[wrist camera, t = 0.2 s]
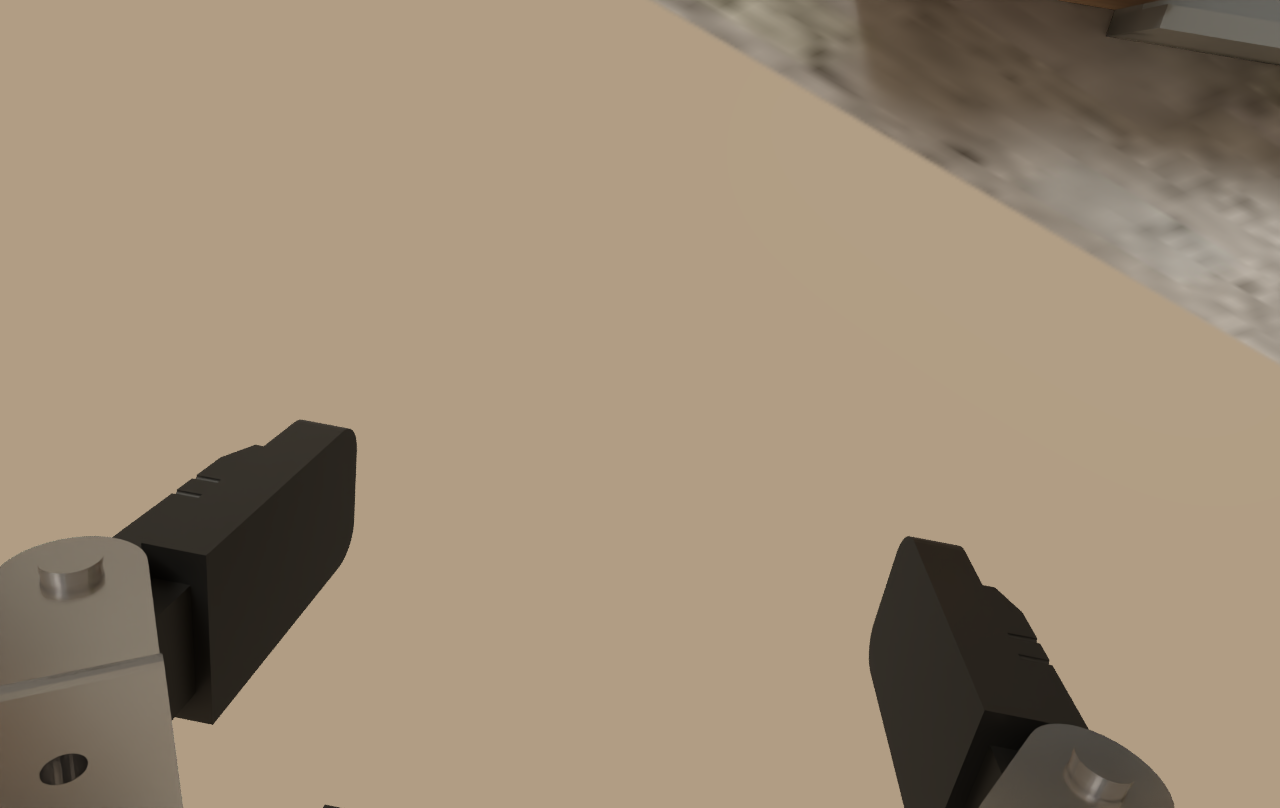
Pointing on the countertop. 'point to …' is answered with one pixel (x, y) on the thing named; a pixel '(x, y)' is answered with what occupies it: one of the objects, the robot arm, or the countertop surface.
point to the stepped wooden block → (1110, 3)
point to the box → (1205, 26)
